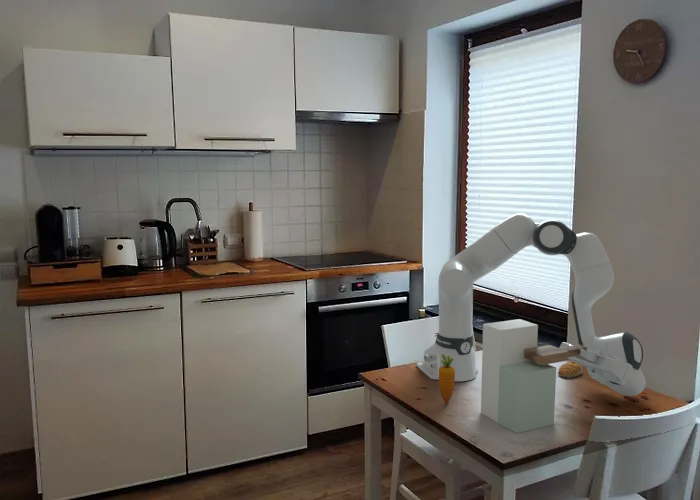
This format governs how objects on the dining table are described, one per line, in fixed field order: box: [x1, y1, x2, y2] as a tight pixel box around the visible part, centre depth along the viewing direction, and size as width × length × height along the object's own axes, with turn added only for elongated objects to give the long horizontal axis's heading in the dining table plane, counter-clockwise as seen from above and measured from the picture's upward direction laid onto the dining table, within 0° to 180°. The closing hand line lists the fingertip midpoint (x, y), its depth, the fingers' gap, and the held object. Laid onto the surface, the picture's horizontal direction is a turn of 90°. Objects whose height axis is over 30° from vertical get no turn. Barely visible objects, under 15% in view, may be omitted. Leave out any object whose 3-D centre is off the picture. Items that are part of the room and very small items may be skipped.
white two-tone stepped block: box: [480, 318, 557, 434], centre depth 165 cm, size 15×13×26 cm
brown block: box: [525, 344, 587, 365], centre depth 166 cm, size 7×18×2 cm, turn 115°
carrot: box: [438, 354, 455, 405], centre depth 177 cm, size 5×5×15 cm
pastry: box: [557, 361, 583, 379], centre depth 203 cm, size 9×7×4 cm
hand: (574, 349), depth 168 cm, fingers closed on brown block, 3 cm apart
